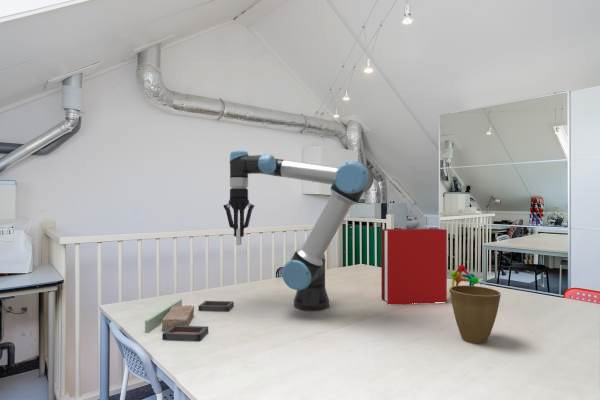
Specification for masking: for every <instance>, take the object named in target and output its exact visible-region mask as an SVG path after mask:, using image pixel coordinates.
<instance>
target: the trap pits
mask: <svg viewBox="0 0 600 400" xmlns="http://www.w3.org/2000/svg"><path fill="white" fill-rule="evenodd" d="M234 304H235V303H234V301H230V300H229V301H228V300H226V301H225V300H222V301H221V300H204V301H203V302H202V303H200V304H199V305H198V306H197V307H198V311H199V312H224V313H228V312H230V311H231V310H232V309H233V307H234V306H235V305H234ZM198 311H197V312H198ZM207 334H209V326H202V325H201V326H200V325H197V326H196V325H188V326H176V325H173V326H172V327H170V328H169V329H168V330H166V331H163V332H162V334H161V335H162V338H161V339H162V340H163V341H181V342H182V341H183V342H184V341H185V342H186V341H187V342H188V341H189V342H201V341H202V339H203V338H204V337H206V335H207Z"/></svg>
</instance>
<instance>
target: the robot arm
mask: <svg viewBox="0 0 600 400" xmlns="http://www.w3.org/2000/svg"><path fill="white" fill-rule="evenodd" d="M229 155H230V156H229V200H228V203H226V204H224V205H223V208H224V211H225V213H226V217H227V221H228V226H229V228H231V229H233V235H234V237H235V238H236V240H235V241H236V242H235V243H236V246H241V245H242V239H243V237H244V236H245V228H249V224H250V221H251V216H252V213H253V209H254V208H255V205H254V204H252V203H250V200H249V189H248V187H249V174H250V175H251V174H255V175H256V174H258V175H269V176H271V177H280V178H281V177H283V178H288V179H295V180H301V181H307V182H312V183H317V184H318V183H320V184H325V185H331V186H330V187H329V188H330V193H331V195H330V196H329V198H328V200H327V202H326V204H325V206H324V207H323V209H322V211H321V212H320V215H319V216H318V218H317V219H316V221H315V223H314V225H313V227H312V229H311V230H310V232H309V235H308V236H307V238H306V239H305V241H304V243H303V245H302V247H299V248H298V247H297V248H296V250H295V251H294V253H293V256H292V257H291V259H290V260H288V261H287V262H286V263H285V264H284V266H283V267H282V272H281V274H282V279H283V282H284V283H285V284H286V285H287V287H289V288H290V289H291V290H295V291H296V293H295V296H294V298H293V306H294V307H295V309H297V310H298V309H299V310H303V311H321V310H326V309H328V308H330V299H329V295H328V292H327V289H326V254H325V253H326V251H327V249H328V247H329V246H330V244H331V242H332V241H333V239H334V237H335V235H336V233H337V231H338V230H339V228H340V227H341V225H342V223H343V221H344V219H345V218H346V215H347V214H348V213H349V211H350V208H351V207H352V206H353V205H357V204H358V203H359V201H360V199H361V197H362V196H363V194H364V193H365V192H368V191H369V190H371V188H372V185H373V183H374V175H373V172H372V170H371V169H370V168H369V167H368V166H367V165H364V164H362V163H361V162H358V161H347V162H344V163H343V164H341V165H339V166H334V165H333V166H331V165H325V164H318V163H309V162H303V161H302V162H301V161H296V160H287V159H281V158H275V156H274V155H272V154H257V155H249V153H248V151H246V150H233V151H231V152H230V154H229ZM231 208H232V211H233V215H232V211H231ZM246 208H247V211H246V216H245V209H246Z"/></svg>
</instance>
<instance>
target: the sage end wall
mask: <svg viewBox="0 0 600 400" xmlns="http://www.w3.org/2000/svg"><path fill="white" fill-rule="evenodd" d="M173 306H183V299H182V298H179V299H177V300H176V301H174V302H172V303H171V304H170V305H168V306H166V307H164V308H163V309H161V310H160V311H158V312H157V313H155V314H153V315H151V316H150V317H148V318H147V319H145V321H144V332H145V333H150V332H152V330H154V329H155V328H157V327H159V326H161V324H162V321H163V318H164V317H165V316H166V314H167V313H168V312H169V311H170V309H171V307H173Z"/></svg>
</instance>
